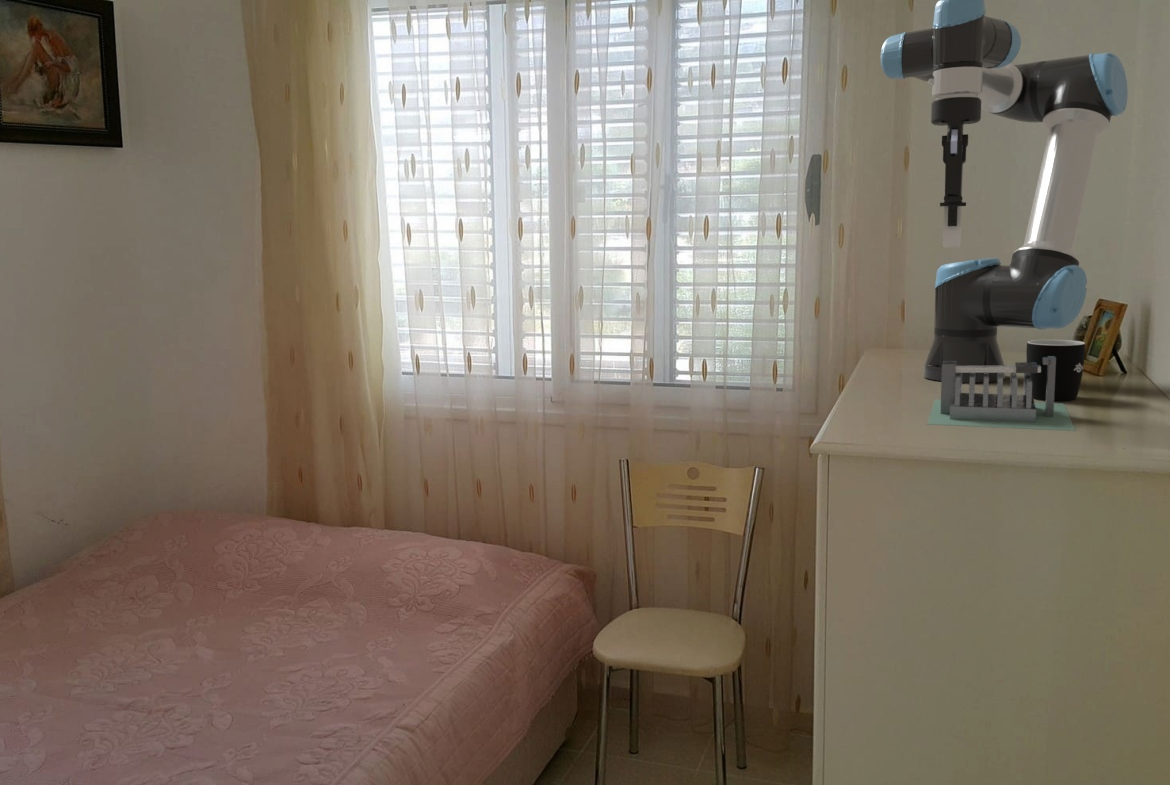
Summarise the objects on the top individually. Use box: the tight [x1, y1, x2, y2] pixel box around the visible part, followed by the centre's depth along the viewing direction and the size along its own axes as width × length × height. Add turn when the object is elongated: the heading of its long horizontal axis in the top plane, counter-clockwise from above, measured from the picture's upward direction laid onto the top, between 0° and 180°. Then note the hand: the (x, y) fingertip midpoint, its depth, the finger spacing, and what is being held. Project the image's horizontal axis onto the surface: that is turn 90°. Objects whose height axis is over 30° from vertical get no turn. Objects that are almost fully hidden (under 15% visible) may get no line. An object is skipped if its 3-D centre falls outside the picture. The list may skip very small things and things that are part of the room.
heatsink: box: [940, 356, 1056, 423], centre depth 158 cm, size 14×16×9 cm
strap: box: [956, 361, 1041, 374], centre depth 158 cm, size 5×14×1 cm, turn 69°
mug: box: [1025, 339, 1086, 403], centre depth 172 cm, size 12×9×10 cm
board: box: [927, 398, 1076, 432], centre depth 159 cm, size 24×20×1 cm
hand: (951, 246), depth 166 cm, fingers closed
